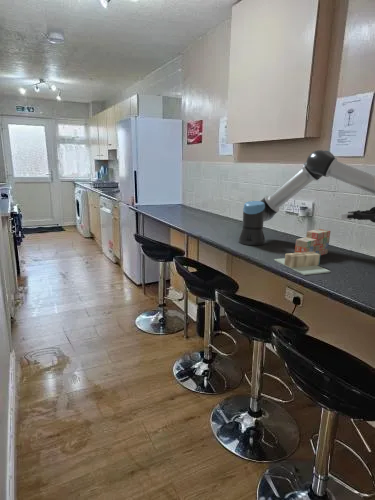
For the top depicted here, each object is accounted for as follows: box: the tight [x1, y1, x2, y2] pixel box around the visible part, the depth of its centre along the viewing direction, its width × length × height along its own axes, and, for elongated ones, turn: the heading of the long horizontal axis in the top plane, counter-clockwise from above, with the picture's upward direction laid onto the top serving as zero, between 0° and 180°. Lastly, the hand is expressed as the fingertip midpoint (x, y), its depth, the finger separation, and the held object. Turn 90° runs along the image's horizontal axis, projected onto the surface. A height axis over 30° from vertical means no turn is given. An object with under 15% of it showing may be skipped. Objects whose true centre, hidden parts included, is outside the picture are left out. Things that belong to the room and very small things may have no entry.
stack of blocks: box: [293, 228, 331, 256], centre depth 165 cm, size 21×6×12 cm, turn 129°
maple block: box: [284, 252, 322, 269], centre depth 148 cm, size 5×5×15 cm
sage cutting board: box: [273, 257, 331, 276], centre depth 148 cm, size 22×14×1 cm, turn 19°
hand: (340, 216), depth 149 cm, fingers closed
